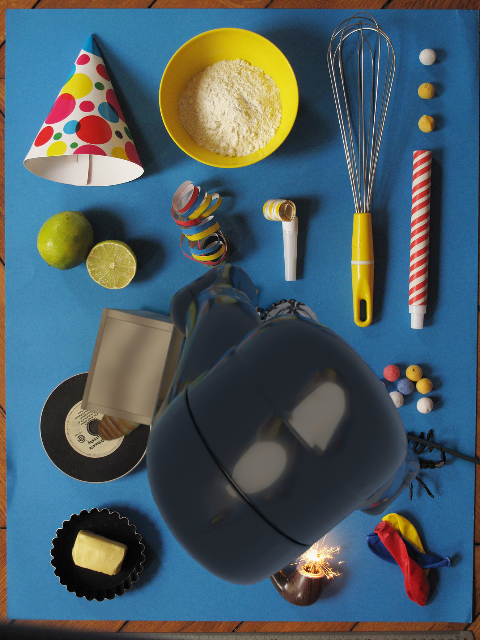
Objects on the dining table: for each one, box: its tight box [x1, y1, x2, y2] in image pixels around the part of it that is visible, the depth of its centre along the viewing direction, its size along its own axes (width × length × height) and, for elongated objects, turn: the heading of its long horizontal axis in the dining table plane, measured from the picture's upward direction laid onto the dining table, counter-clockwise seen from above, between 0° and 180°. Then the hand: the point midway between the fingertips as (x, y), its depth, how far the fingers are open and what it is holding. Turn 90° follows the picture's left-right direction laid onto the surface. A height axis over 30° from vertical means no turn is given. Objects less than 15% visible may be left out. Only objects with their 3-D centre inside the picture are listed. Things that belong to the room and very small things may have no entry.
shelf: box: [79, 307, 185, 427], centre depth 74 cm, size 11×15×24 cm
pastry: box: [97, 414, 143, 442], centre depth 84 cm, size 9×7×4 cm
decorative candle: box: [261, 298, 319, 323], centre depth 73 cm, size 9×9×25 cm
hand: (228, 308), depth 83 cm, fingers closed on block, 5 cm apart
